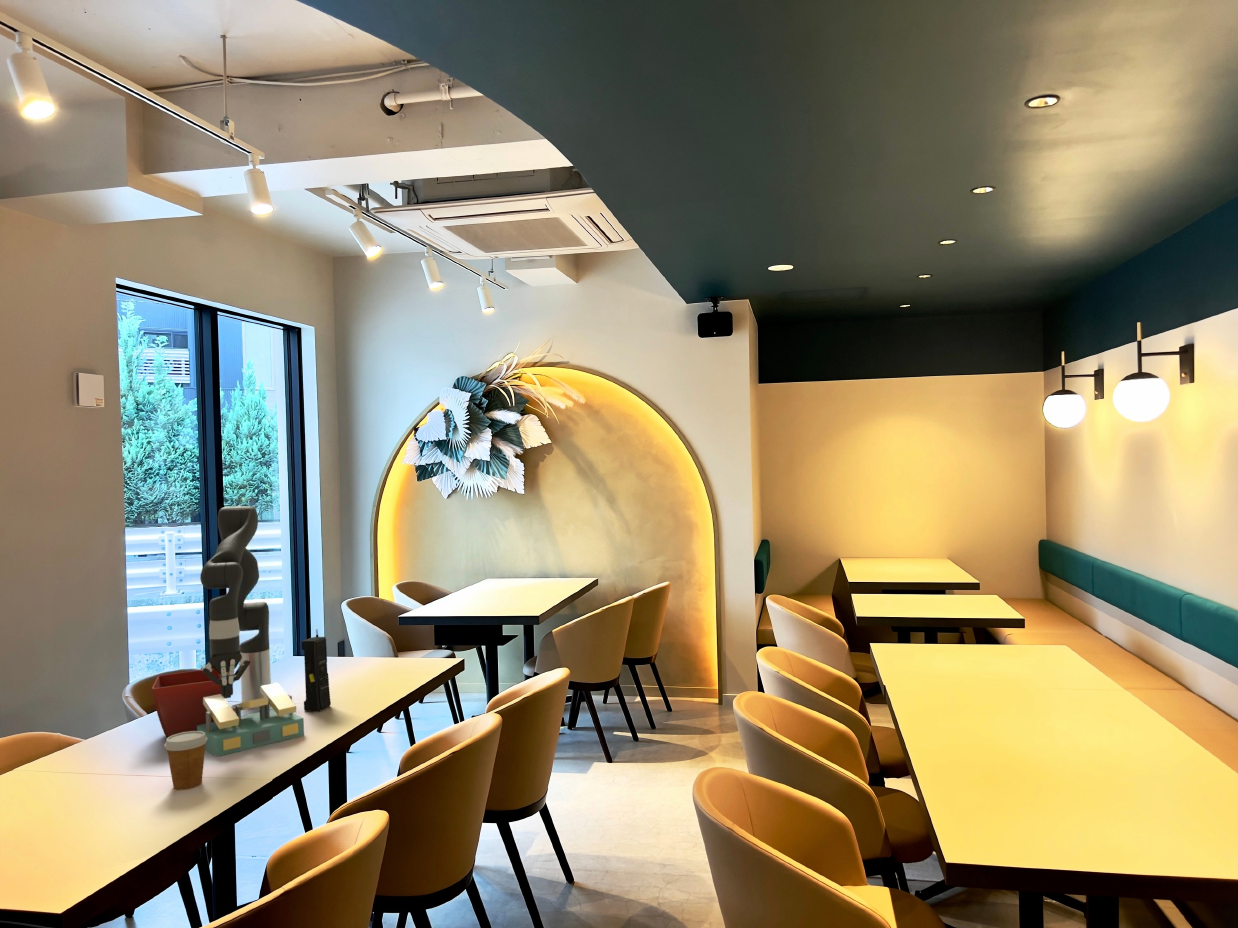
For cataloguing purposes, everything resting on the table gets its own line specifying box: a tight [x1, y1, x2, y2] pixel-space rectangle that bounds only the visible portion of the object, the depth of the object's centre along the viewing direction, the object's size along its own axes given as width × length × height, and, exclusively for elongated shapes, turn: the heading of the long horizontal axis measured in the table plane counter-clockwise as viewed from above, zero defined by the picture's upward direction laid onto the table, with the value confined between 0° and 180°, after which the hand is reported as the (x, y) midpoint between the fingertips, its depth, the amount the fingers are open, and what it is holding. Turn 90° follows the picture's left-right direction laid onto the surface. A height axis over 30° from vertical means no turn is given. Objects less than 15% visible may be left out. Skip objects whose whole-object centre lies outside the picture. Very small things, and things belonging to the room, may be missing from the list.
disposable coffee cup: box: [163, 731, 208, 790], centre depth 211 cm, size 10×10×12 cm
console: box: [197, 694, 305, 757], centre depth 246 cm, size 17×24×10 cm
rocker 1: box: [203, 694, 239, 729], centre depth 241 cm, size 15×5×2 cm, turn 42°
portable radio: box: [300, 630, 332, 713], centre depth 275 cm, size 8×6×25 cm
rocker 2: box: [231, 697, 268, 712], centre depth 246 cm, size 15×5×2 cm, turn 42°
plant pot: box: [151, 668, 221, 739], centre depth 254 cm, size 19×19×17 cm
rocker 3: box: [260, 682, 297, 716], centre depth 252 cm, size 15×5×2 cm, turn 42°
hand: (226, 697), depth 236 cm, fingers closed
